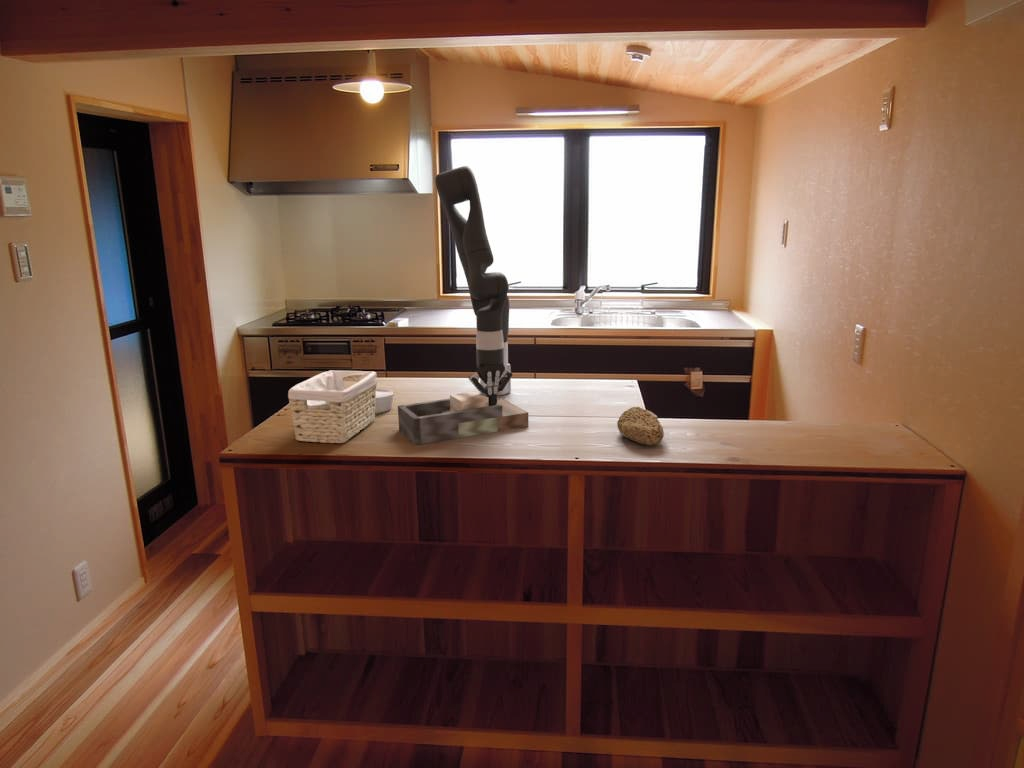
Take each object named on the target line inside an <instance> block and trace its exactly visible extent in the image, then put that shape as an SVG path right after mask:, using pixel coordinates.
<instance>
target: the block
mask: <svg viewBox="0 0 1024 768" xmlns="http://www.w3.org/2000/svg"><path fill="white" fill-rule="evenodd" d="M449 399H450V412H454V411H461V410H467V409H474V408H481V407H487V406H489V401H488V397H486V395H484V394H481V392H480V391H478V390H475V391H468V392H460V393H453V394H449Z"/></svg>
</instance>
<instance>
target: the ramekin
mask: <svg viewBox="0 0 1024 768" xmlns="http://www.w3.org/2000/svg"><path fill="white" fill-rule="evenodd" d="M394 395H395V393H394V391H393V390H391V389H387V388H386V389H385V388H376V400H375V402H376V405H375V413H376V414H382V413H381V412H383V413H386V412H385V411H387V412H389V411H390V410H391V409H392V406H393V401H394ZM388 410H389V411H388Z"/></svg>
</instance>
